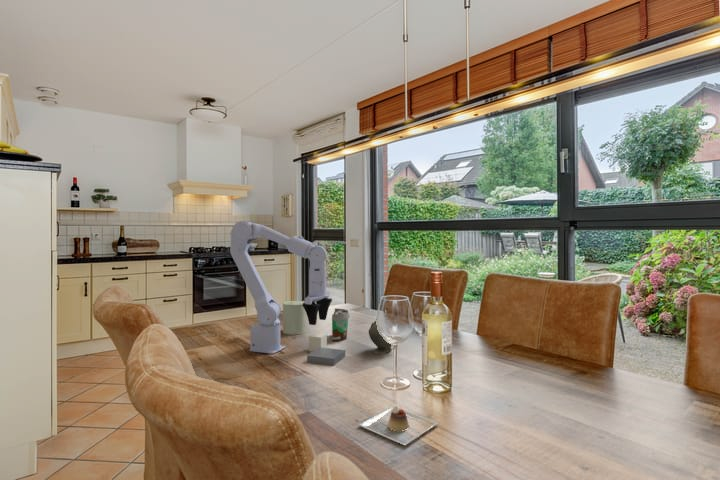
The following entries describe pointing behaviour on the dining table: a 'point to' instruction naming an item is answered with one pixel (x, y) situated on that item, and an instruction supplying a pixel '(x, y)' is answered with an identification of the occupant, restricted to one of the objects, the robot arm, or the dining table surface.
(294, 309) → the can
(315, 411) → the dining table surface
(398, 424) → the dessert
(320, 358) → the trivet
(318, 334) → the block
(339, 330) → the food container
